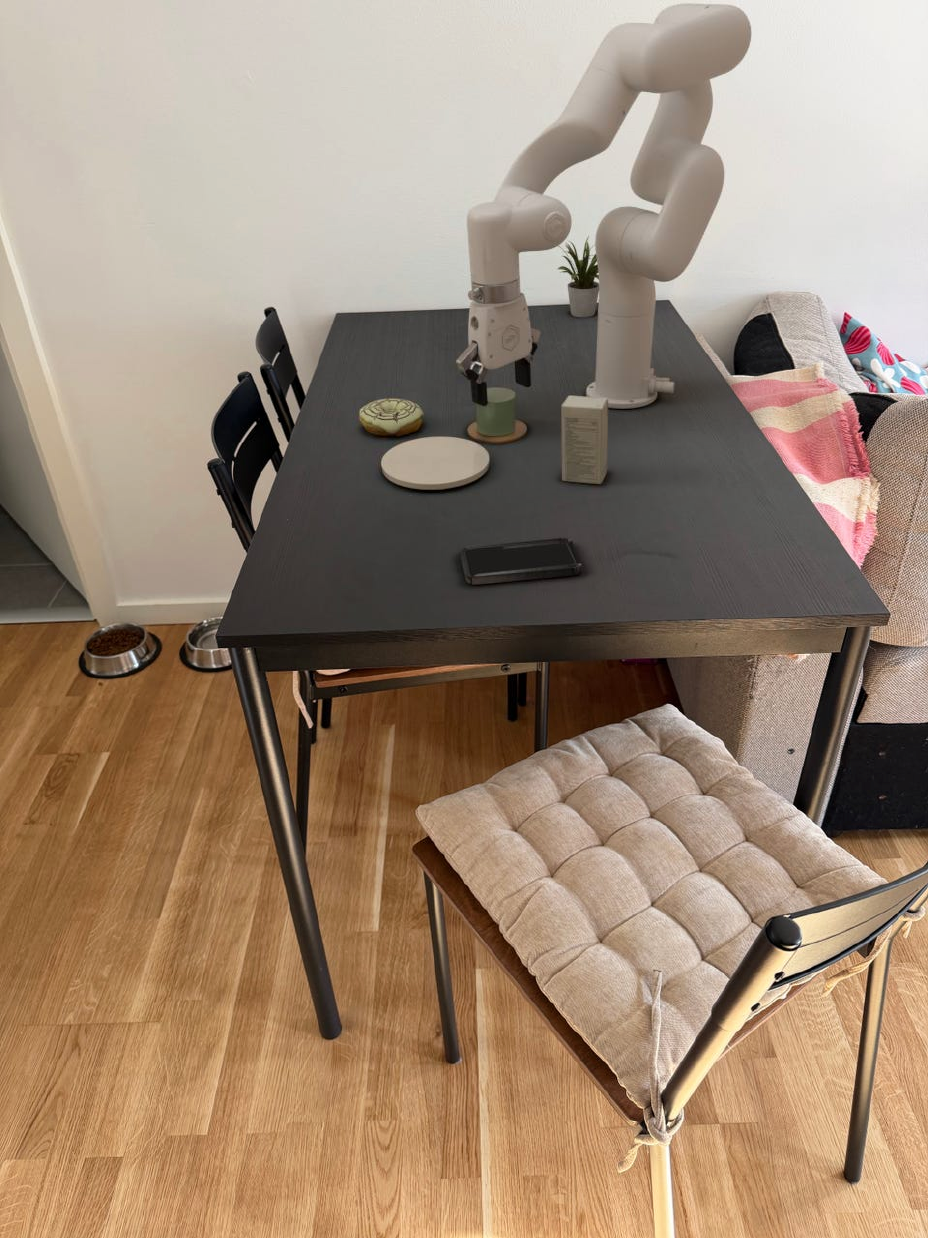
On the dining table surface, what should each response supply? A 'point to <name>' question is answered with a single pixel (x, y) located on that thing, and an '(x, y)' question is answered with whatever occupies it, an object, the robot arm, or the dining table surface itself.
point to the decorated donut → (391, 417)
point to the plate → (435, 463)
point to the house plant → (582, 283)
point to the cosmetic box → (584, 439)
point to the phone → (520, 561)
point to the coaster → (516, 435)
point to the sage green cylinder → (497, 413)
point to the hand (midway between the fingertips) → (502, 394)
